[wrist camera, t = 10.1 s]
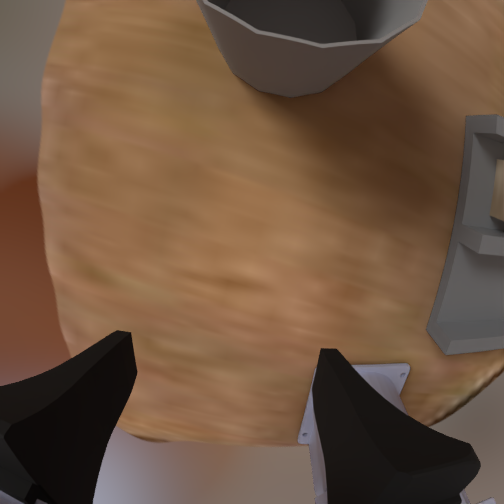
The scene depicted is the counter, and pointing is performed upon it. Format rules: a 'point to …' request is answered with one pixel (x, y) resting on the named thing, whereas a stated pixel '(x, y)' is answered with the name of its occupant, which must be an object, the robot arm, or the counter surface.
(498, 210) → the peg
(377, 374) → the robot arm
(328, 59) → the cup
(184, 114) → the counter surface
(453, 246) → the gray i-beam stand
